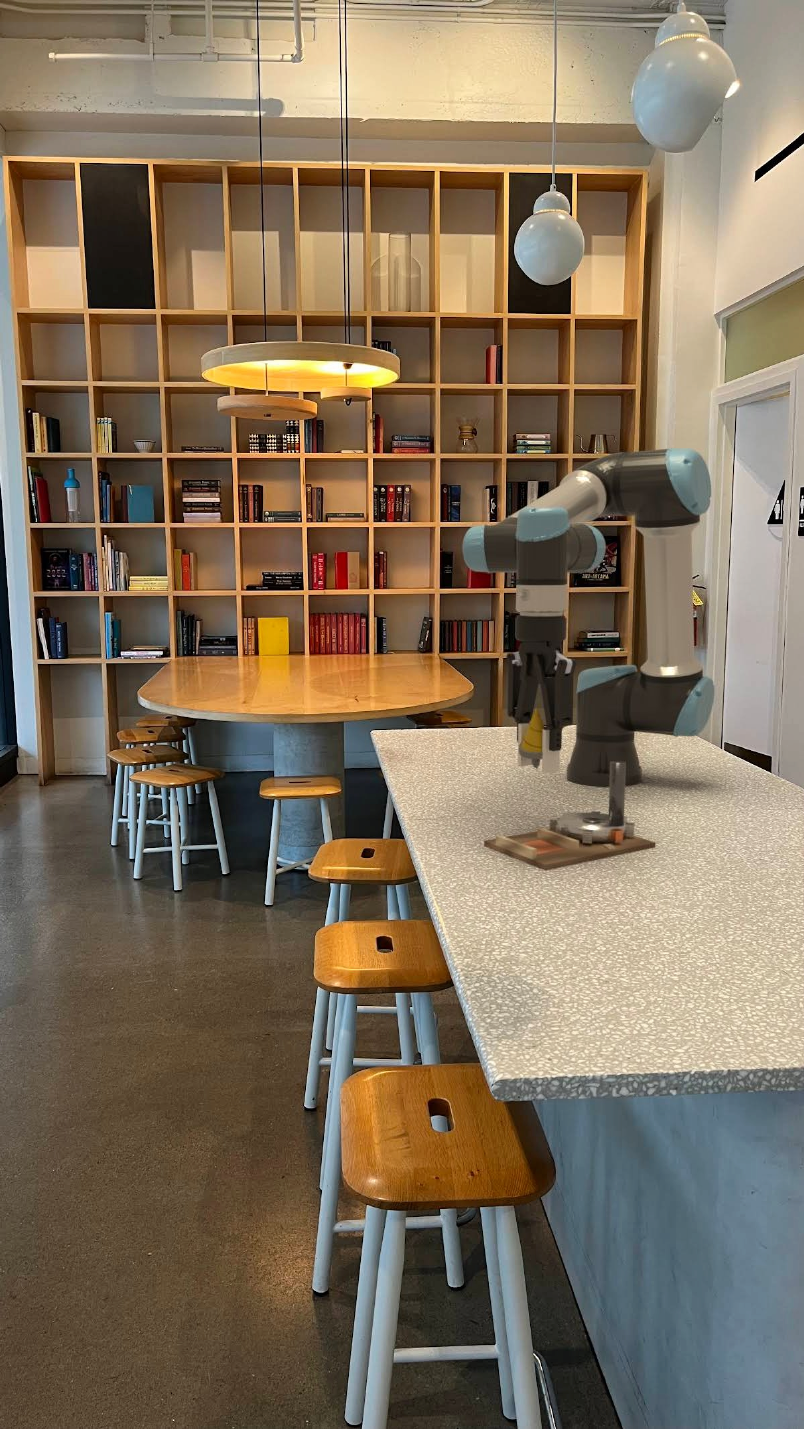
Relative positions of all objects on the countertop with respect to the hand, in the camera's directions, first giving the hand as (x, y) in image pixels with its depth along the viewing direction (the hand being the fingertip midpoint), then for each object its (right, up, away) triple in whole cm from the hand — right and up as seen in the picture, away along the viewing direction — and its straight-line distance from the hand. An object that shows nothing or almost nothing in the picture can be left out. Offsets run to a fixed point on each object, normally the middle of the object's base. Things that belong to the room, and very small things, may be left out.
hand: (538, 768), depth 154 cm
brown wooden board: (+6, -13, +5) cm, 15 cm away
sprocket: (+10, -11, +9) cm, 17 cm away
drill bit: (0, 0, +1) cm, 1 cm away
